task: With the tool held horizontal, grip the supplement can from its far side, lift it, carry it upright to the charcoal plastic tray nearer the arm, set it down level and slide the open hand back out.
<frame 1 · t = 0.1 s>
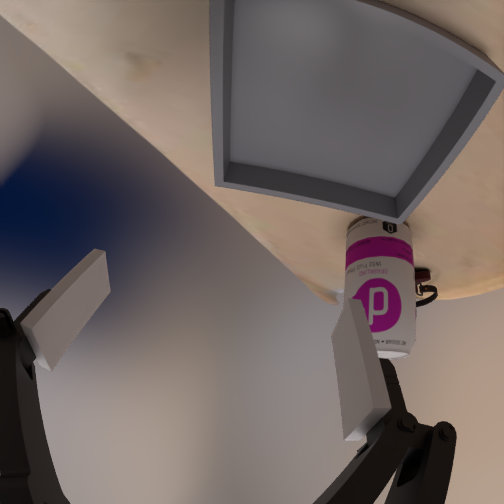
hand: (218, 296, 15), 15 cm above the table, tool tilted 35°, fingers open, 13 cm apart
supplement can: (378, 230, 33), on the table
binoculars: (409, 274, 42), on the table
tray: (341, 101, 19), on the table
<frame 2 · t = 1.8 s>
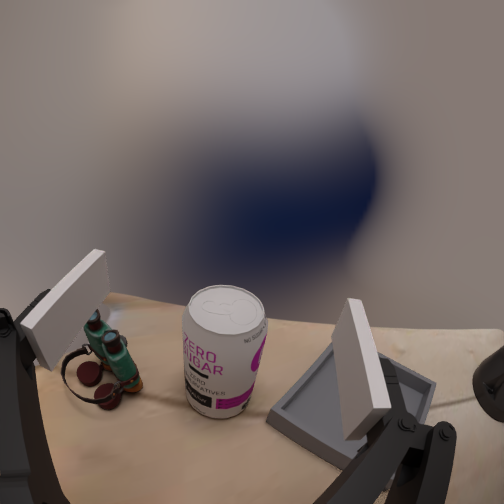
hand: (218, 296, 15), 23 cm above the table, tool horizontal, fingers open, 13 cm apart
supplement can: (217, 394, 33), on the table
binoculars: (106, 387, 31), on the table
tray: (357, 412, 32), on the table
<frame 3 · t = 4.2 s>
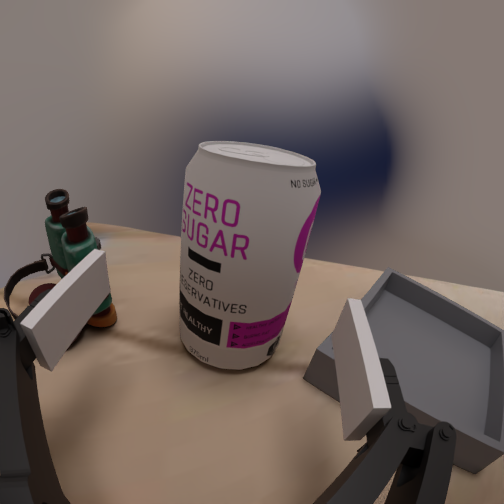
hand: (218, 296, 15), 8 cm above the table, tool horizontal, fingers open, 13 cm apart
supplement can: (228, 338, 24), on the table
binoculars: (65, 321, 21), on the table
tray: (424, 367, 22), on the table
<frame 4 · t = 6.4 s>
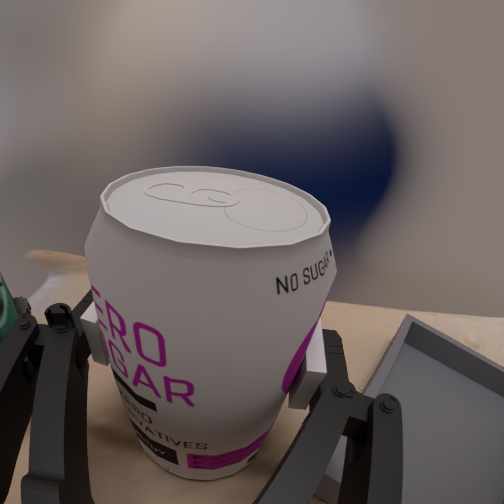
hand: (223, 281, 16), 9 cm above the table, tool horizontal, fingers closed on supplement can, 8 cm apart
supplement can: (199, 428, 16), on the table, touching gripper
binoculars: (9, 390, 13), on the table
tray: (443, 443, 15), on the table
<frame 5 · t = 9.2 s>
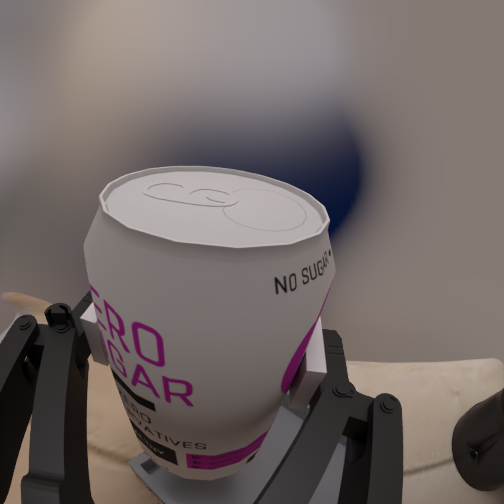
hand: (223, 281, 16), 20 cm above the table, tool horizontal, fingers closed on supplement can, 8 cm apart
supplement can: (198, 428, 16), point 11 cm above the table, touching gripper
tray: (266, 480, 21), on the table
when the fingers open (11 cm above the table, at t = 11.9 s): supplement can drops 1 cm, resting on tray.
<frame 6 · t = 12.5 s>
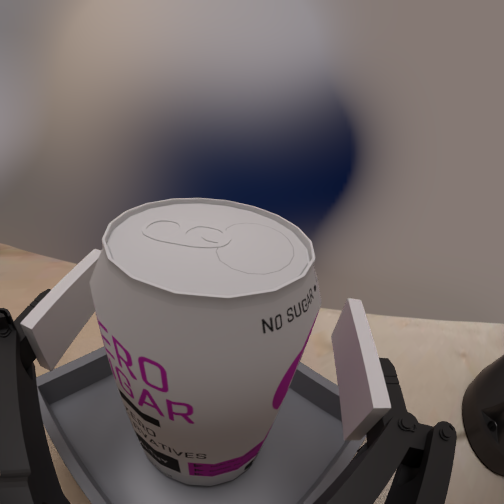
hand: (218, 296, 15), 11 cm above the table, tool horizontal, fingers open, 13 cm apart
supplement can: (199, 437, 16), point 1 cm above the table, touching tray
tray: (199, 440, 17), on the table
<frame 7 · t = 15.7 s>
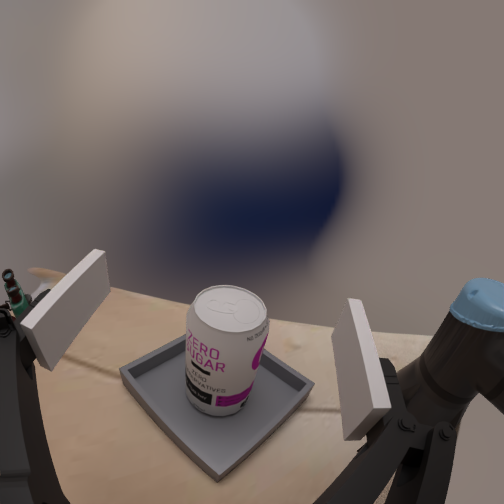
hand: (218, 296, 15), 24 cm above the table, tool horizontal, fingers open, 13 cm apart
supplement can: (216, 393, 34), point 1 cm above the table, touching tray
binoculars: (19, 337, 33), on the table
tray: (216, 395, 35), on the table
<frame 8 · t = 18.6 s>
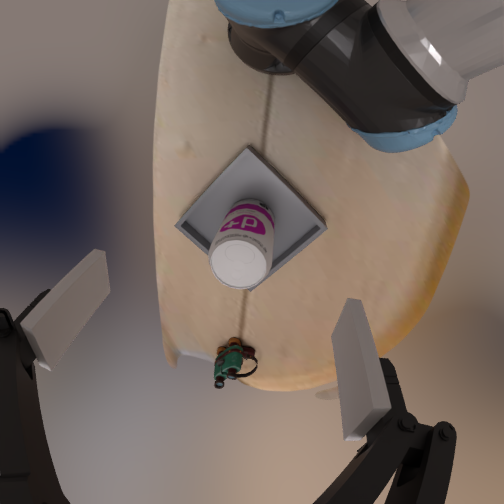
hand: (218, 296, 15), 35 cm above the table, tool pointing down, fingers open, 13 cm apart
supplement can: (250, 220, 49), point 1 cm above the table, touching tray
binoculars: (239, 351, 66), on the table
tray: (250, 218, 50), on the table
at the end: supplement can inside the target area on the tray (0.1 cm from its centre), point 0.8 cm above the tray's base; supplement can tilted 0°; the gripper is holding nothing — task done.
